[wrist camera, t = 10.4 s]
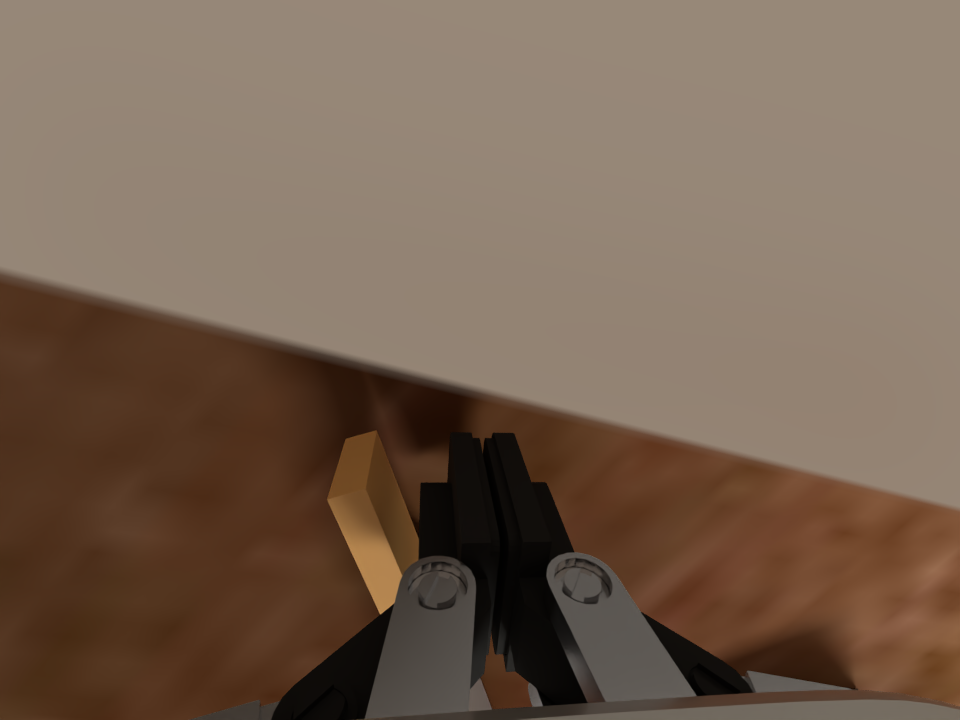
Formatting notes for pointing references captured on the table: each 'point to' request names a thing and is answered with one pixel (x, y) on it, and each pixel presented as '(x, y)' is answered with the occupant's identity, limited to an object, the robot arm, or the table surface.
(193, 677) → the table surface
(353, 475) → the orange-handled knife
